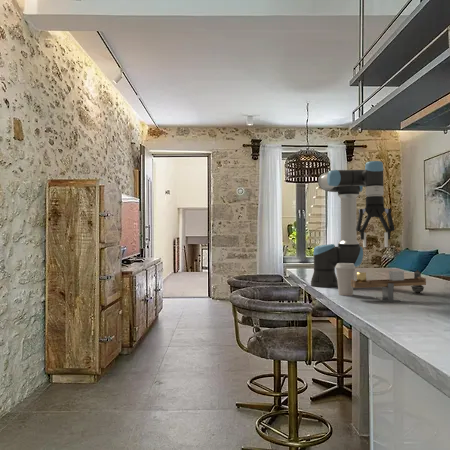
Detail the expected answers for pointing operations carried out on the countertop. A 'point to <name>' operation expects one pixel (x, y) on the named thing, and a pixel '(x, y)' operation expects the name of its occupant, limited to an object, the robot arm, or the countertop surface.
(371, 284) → the wooden tray
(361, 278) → the cylinder
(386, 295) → the fulcrum
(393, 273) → the block
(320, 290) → the countertop surface
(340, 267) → the coffee cup
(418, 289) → the salt shaker
